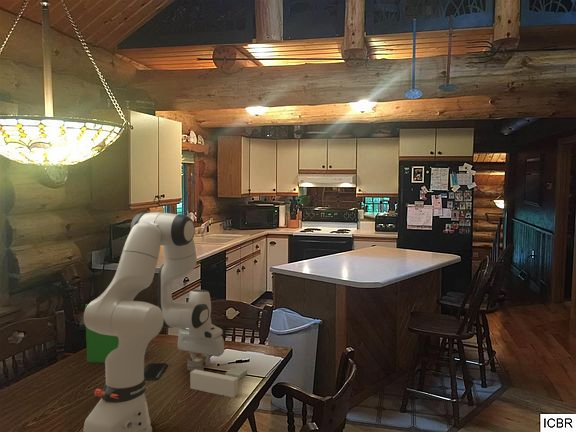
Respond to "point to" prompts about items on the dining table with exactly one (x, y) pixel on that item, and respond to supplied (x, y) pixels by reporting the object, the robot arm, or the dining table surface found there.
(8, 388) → the dining table surface
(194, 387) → the white rectangular block
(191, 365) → the pusher
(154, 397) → the dining table surface
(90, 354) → the hardback book
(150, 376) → the phone
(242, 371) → the tile
